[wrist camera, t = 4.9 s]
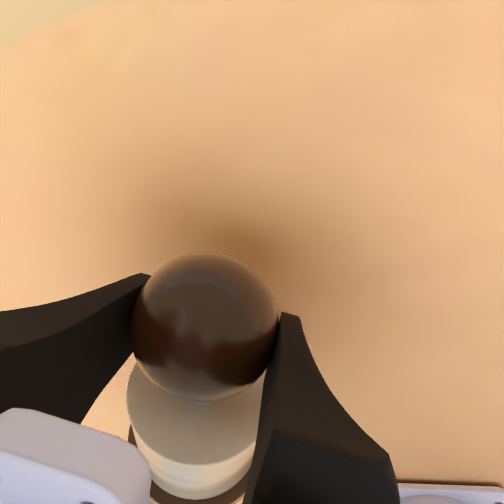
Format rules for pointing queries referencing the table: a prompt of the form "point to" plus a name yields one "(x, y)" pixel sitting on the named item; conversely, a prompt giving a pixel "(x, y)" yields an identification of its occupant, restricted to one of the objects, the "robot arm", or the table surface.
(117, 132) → the table surface
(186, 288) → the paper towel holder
